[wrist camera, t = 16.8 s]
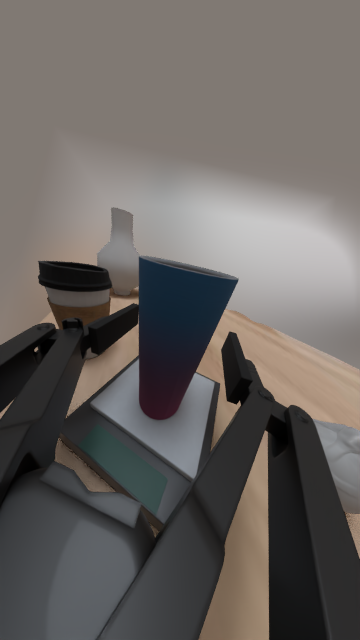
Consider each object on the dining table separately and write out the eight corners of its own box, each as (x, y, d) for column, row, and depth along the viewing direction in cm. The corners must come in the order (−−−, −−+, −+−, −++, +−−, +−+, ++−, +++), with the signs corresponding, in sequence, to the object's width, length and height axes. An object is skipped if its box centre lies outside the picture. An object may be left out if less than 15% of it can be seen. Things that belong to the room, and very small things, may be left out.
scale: (60, 439, 13) (53, 423, 11) (145, 357, 25) (147, 344, 23) (186, 556, 9) (198, 553, 8) (215, 393, 21) (222, 380, 20)
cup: (132, 375, 17) (138, 253, 11) (179, 371, 19) (209, 268, 13) (128, 439, 12) (138, 260, 5) (195, 422, 14) (264, 285, 7)
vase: (102, 285, 58) (96, 208, 45) (139, 289, 65) (143, 222, 53) (97, 298, 45) (87, 193, 32) (144, 301, 52) (151, 216, 39)
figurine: (258, 442, 16) (296, 406, 13) (292, 428, 19) (332, 394, 15) (319, 540, 11) (414, 524, 7) (356, 503, 13) (441, 477, 10)
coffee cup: (45, 363, 20) (7, 258, 13) (77, 333, 27) (63, 256, 20) (104, 366, 21) (97, 274, 15) (119, 337, 29) (119, 267, 22)
